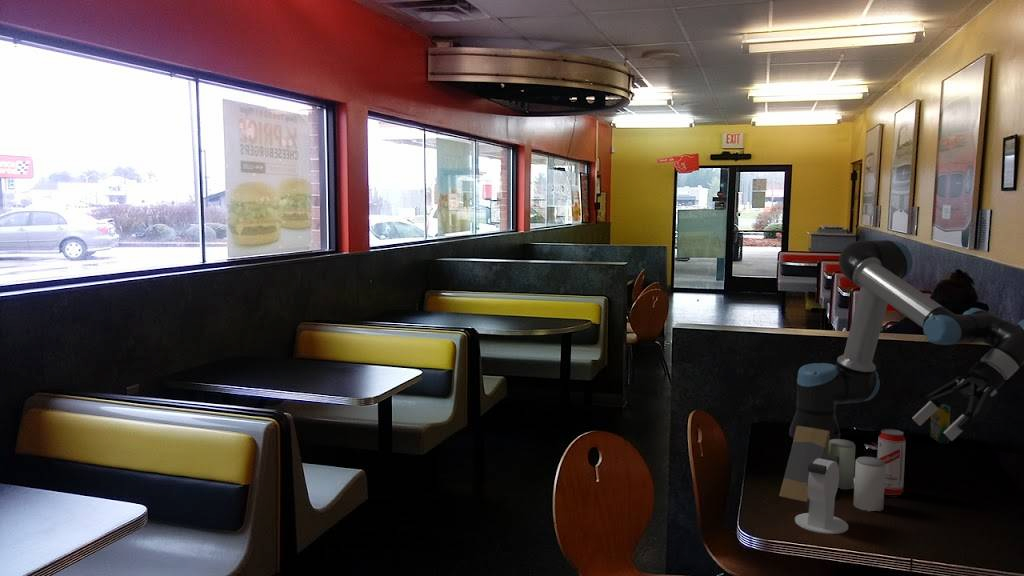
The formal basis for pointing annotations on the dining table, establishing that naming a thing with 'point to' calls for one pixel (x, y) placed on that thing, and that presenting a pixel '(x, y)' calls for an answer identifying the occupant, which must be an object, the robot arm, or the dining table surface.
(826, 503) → the white post on disc
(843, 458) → the sage tin
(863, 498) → the off-white tin
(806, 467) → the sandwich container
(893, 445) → the beer can
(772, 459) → the dining table surface
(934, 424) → the crayon box
